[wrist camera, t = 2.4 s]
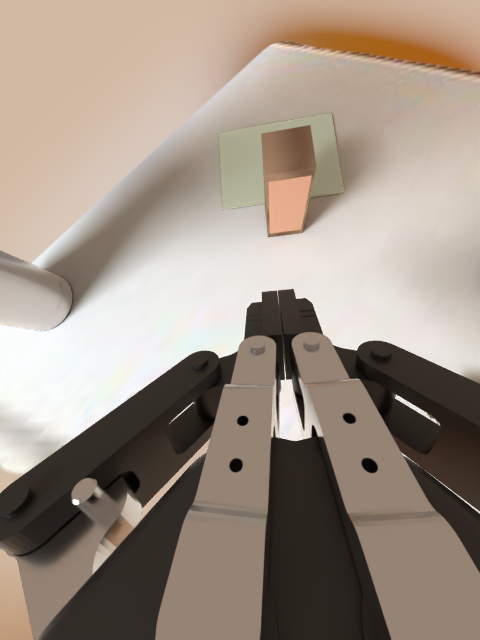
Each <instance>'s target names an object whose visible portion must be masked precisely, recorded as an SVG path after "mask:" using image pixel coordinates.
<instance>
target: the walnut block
mask: <svg viewBox="0 0 480 640" xmlns="http://www.w3.org/2000/svg"><path fill="white" fill-rule="evenodd" d="M261 139H262V157H263V176H264V195H265V211H266V222H267V232H268V237H273V236H281V235H289V234H297V233H303V228H304V224H305V219H306V214H307V210H308V205H309V200H310V195H311V191H312V186H313V181H314V177H315V172H316V160H315V153H314V146H313V139H312V132H311V125H308V126H302V127H296V128H290V129H285V130H279V131H273V132H268V133H262V134H261Z"/></svg>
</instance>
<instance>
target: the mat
mask: <svg viewBox="0 0 480 640" xmlns="http://www.w3.org/2000/svg"><path fill="white" fill-rule="evenodd" d="M308 125H311V132H312V139H313V146H314V153H315V160H316V172H315V177H314V181H313V186H312V191H311V195H310V198H311V197H318V196H325V195H332V194H339V193H344V185H343V179H342V173H341V167H340V161H339V155H338V149H337V143H336V137H335V131H334V125H333V120H332V114H331V113H326V114H320V115H315V116H309V117H304V118H298V119H293V120H287V121H281V122H276V123H270V124H265V125H259V126H254V127H248V128H242V129H237V130H231V131H226V132H220V133H218V138H219V156H220V175H221V194H222V209H223V210H226V209H233V208H240V207H247V206H254V205H261V204H265V195H264V176H263V157H262V139H261V134H262V133H268V132H273V131H279V130H285V129H290V128H296V127H302V126H308Z"/></svg>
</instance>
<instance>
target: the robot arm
mask: <svg viewBox="0 0 480 640" xmlns="http://www.w3.org/2000/svg"><path fill="white" fill-rule="evenodd" d="M278 299H279V304H278ZM71 305H72V290H71V287H70V285H69V283H68V282H67V281H66V280H65V279H64V278H62V277H60V276H58V275H56V274H53V273H51V272H49V271H46V270H44V269H42V268H40V267H37V266H35V265H33V264H31V263H28V262H26V261H24V260H21V259H19V258H17V257H14V256H12V255H10V254H7V253H5V252H3V251H0V325H5V326H11V327H17V328H23V329H30V330H36V331H46V330H49V329H52V328H54V327H56V326H57V325H58V324H60V323H61V322H62V321H63V320H64V319H65V317H66V316H67V314H68V313H69V310H70V308H71ZM283 354H284V356H283ZM284 363H285V372H286V380H288V379H292V383H293V397H294V401H295V406H296V410H297V414H298V419H299V423H300V427H301V431H302V436H303V440H300V441H290V440H286V439H282V438H279V433H280V390H281V381H280V380H285V374H284ZM396 394H397V395H398V396H400V397H402V398H403V399H405V400H407V401H408V402H410V403H412V404H413V405H415V406H417V407H418V408H420V409H422V410H423V411H425V412H427V413H428V414H430V415H432V416H433V417H434V418H435V419H436V420H437V421H438V422H439V424H440V425H438V424H436V423H434V422H433V421H431V420H429V419H428V418H426V417H424V416H423V415H421V414H420V413H418V412H416V411H415V410H413V409H411V408H410V407H408V406H406V405H405V404H403V403H401V402H400V401H398V400H397V399H395V396H396ZM192 402H193V404H192V405H191V406H190V407H189V408H187V409H186V410H185V411H184V412H183V413H182V414H181V415H179V416H178V417H177V418H176V419H175V420H174V421H173V422H171V421H172V420H173V419H174V418H175V417H176V416H177V415H178V414H180V413H181V412H182V411H183V410H184V409H185V408H186V407H188V406H189V405H190V404H191V403H192ZM170 422H171V423H170ZM169 423H170V424H169ZM209 439H210V442H209V446H208V450H207V453H205V454H204V455H202V456H201V457H200V458H198V459H197V460H196V461H195V462H194V463H193V464H192V465H191V466H190V467H189V468H188V469H187V470H186V471H185V472H184V473H183V474H182V476H181V477H180V478H179V479H178V480H177V481H176V482H175V483H174V485H173V486H172V487H171V488H170V489H169V490H168V491H167V492H166V493H165V494H164V496H163V497H162V498H161V499H160V500H159V501H158V502H157V503H156V504H155V506H154V507H153V508H152V509H151V510H150V511H149V512H148V513H147V515H146V516H145V517H144V518H143V519H142V520H141V521H140V519H141V513H142V508H143V507H144V506H145V505H146V504H147V503H148V502H149V501H150V500H151V498H152V497H153V496H154V495H155V494H156V493H157V492H158V491H159V490H160V489H161V488H162V487H163V486H164V485H165V484H166V483H167V482H168V481H169V480H170V479H171V478H172V477H173V476H174V475H175V474H176V473H177V472H178V471H179V469H181V468H182V467H183V465H184V464H185V463H186V462H187V461H188V460H189V459H190V458H191V457H192V456H193V455H194V454H195V453H196V452H197V451H198V450H199V449H200V448H201V447H202V446H203V445H204V444H205V443H206V442H207V441H208V440H209ZM401 452H402V453H403V454H404V455H406V456H407V457H408V458H410V459H411V460H412V461H411V460H409V459H408V458H406V457H405V456H403V455H402V453H401ZM413 461H414V462H415V463H414V462H413ZM417 464H418V465H419V466H418V465H417ZM421 467H422V468H423V469H422V468H421ZM425 470H426V471H427V472H428V473H427V472H426V471H425ZM429 473H430V474H431V475H432V476H431V475H430V474H429ZM433 476H434V477H435V478H436V479H438V480H439V481H440V482H442V483H443V484H444V485H446V486H447V487H448V488H449V489H451V490H452V491H453V492H455V493H456V494H457V495H459V496H460V497H461V498H463V499H464V500H465V501H467V502H468V503H469V504H471V505H472V506H473V507H475V508H476V509H477V510H479V511H480V384H479V383H476V382H474V381H472V380H470V379H468V378H465V377H463V376H461V375H459V374H457V373H454V372H452V371H450V370H448V369H446V368H443V367H441V366H439V365H437V364H435V363H432V362H430V361H428V360H426V359H424V358H421V357H419V356H417V355H415V354H413V353H410V352H408V351H406V350H404V349H402V348H399V347H397V346H395V345H393V344H390V343H387V342H383V341H368V342H365V343H363V344H361V345H360V346H359V347H358V350H357V351H356V350H349V349H343V348H339V347H336V346H334V345H332V343H331V341H330V339H329V338H328V337H326V336H325V335H323V333H322V330H321V327H320V324H319V321H318V318H317V316H316V313H315V311H314V307H313V304H312V303H311V302H310V301H309V300H307V299H306V298H303V299H296V297H295V293H294V289H289V290H278V296H277V291H268V292H262V302H257V303H251V305H250V306H249V307H248V308H247V316H246V326H245V338H244V341H242V342H241V344H240V346H239V349H238V351H237V352H236V353H234V354H232V355H229V356H226V357H222V358H219V357H218V356H217V355H216V354H215V353H214V352H211V351H199V352H195V353H193V354H191V355H189V356H188V357H186V358H185V359H184V360H182V361H181V362H179V363H178V364H177V365H175V366H174V367H172V368H171V369H170V370H168V371H167V372H166V373H164V374H163V375H161V376H160V377H159V378H157V379H156V380H154V381H153V382H152V383H150V384H149V385H148V386H146V387H145V388H143V389H142V390H141V391H139V392H138V393H136V394H135V395H134V396H132V397H131V398H129V399H128V400H127V401H125V402H124V403H123V404H121V405H120V406H118V407H117V408H116V409H114V410H113V411H111V412H110V413H109V414H107V415H106V416H105V417H103V418H102V419H100V420H99V421H98V422H96V423H95V424H93V425H92V426H91V427H89V428H88V429H86V430H85V431H84V432H82V433H81V434H80V435H78V436H77V437H75V438H74V439H73V440H71V441H70V442H68V443H67V444H66V445H64V446H63V447H62V448H60V449H59V450H57V451H56V452H55V453H53V454H52V455H50V456H49V457H48V458H46V459H45V460H43V461H42V462H41V463H39V464H38V465H37V466H35V467H34V468H32V469H31V470H30V471H28V472H27V473H25V474H24V475H23V476H21V477H20V478H19V479H17V480H16V481H14V482H13V483H12V484H10V485H9V486H8V487H7V488H6V489H4V490H3V491H2V492H1V493H0V549H2V550H4V551H6V553H7V554H8V555H9V556H11V557H13V558H15V559H16V560H17V562H18V566H19V571H20V576H21V581H22V586H23V590H24V595H25V600H26V605H27V609H28V615H29V620H30V625H31V630H32V635H33V639H34V640H480V514H479V513H478V512H477V511H476V510H474V509H473V508H472V507H470V506H469V505H468V504H467V503H465V502H464V501H463V500H462V499H460V498H459V497H458V496H457V495H455V494H454V493H453V492H452V491H450V490H449V489H448V488H446V487H445V486H444V485H443V484H441V483H440V482H439V481H438V480H436V479H435V478H434V477H433Z"/></svg>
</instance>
